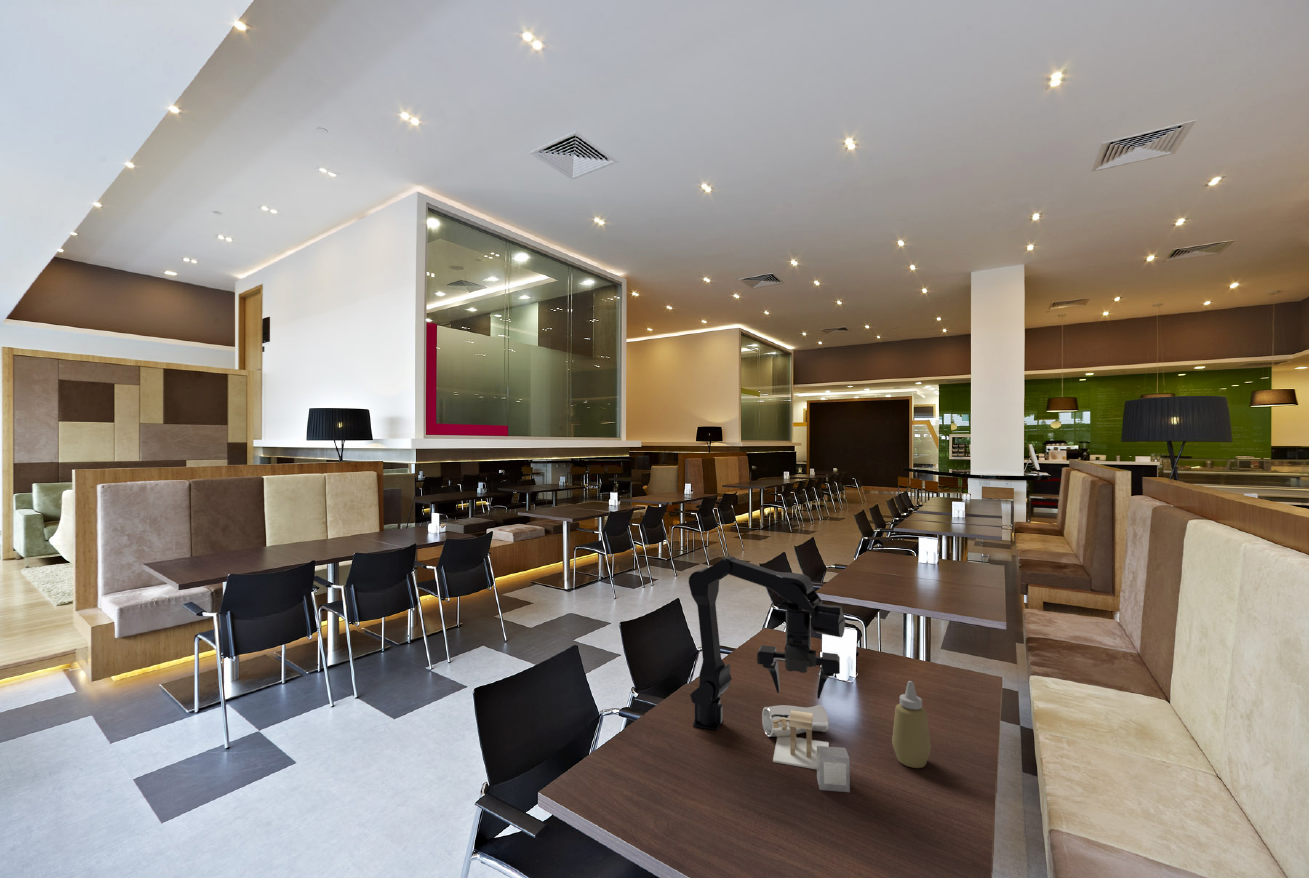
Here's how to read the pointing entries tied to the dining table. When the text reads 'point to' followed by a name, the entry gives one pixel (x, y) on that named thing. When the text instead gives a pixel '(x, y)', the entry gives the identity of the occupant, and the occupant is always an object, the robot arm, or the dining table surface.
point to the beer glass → (779, 716)
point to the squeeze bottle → (911, 730)
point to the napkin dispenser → (833, 769)
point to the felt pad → (796, 752)
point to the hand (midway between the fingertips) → (798, 695)
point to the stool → (804, 722)
